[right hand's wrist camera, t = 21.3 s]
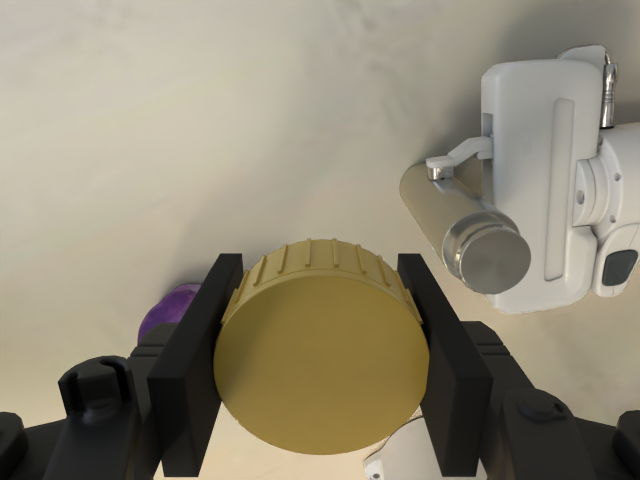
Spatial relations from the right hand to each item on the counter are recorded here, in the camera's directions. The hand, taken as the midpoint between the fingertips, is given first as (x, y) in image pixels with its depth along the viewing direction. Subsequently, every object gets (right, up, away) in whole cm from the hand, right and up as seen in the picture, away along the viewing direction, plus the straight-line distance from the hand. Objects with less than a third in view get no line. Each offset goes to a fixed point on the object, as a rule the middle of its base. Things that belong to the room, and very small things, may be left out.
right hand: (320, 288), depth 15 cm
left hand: (+9, +4, +19) cm, 21 cm away
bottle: (+10, +7, +24) cm, 27 cm away
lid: (0, -2, -4) cm, 4 cm away
